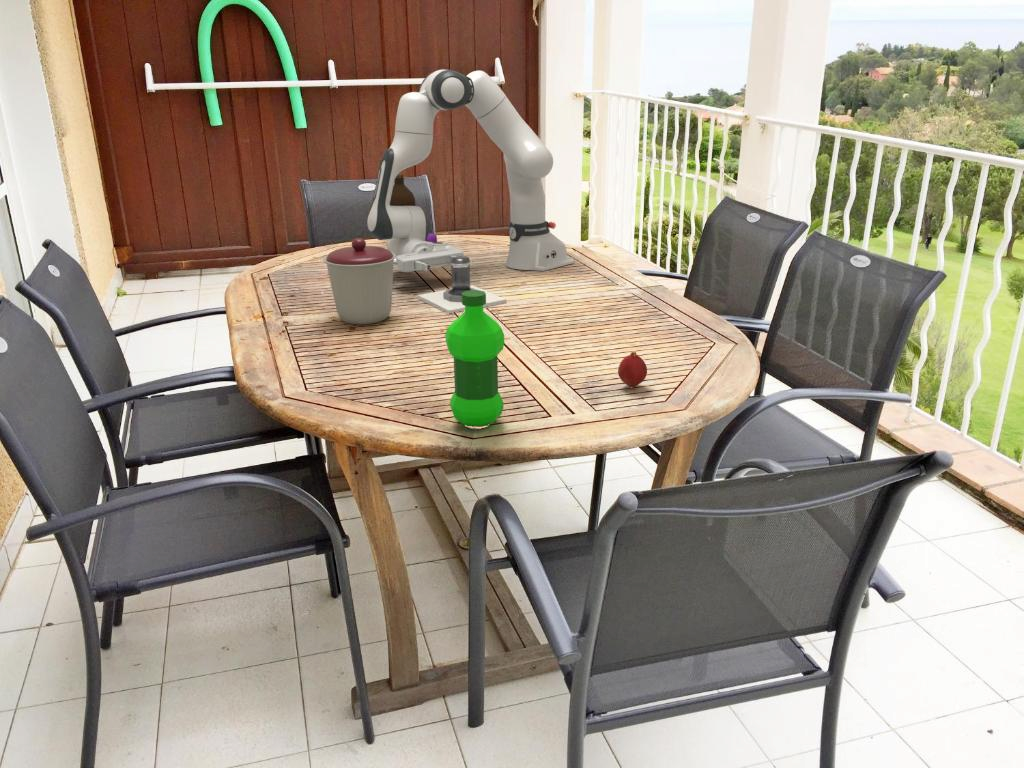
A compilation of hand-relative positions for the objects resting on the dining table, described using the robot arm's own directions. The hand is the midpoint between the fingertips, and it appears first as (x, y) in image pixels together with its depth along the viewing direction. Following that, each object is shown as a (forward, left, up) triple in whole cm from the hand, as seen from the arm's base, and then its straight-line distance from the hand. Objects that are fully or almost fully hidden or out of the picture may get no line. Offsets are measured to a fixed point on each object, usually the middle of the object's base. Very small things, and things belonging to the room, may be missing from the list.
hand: (442, 265), depth 230 cm
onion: (+3, +85, -8) cm, 86 cm away
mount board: (0, +10, -8) cm, 13 cm away
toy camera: (-12, -37, -8) cm, 39 cm away
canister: (+29, +10, -8) cm, 32 cm away
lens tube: (0, +10, -7) cm, 12 cm away
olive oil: (-19, -66, -8) cm, 69 cm away
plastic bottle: (+38, +82, -8) cm, 91 cm away
